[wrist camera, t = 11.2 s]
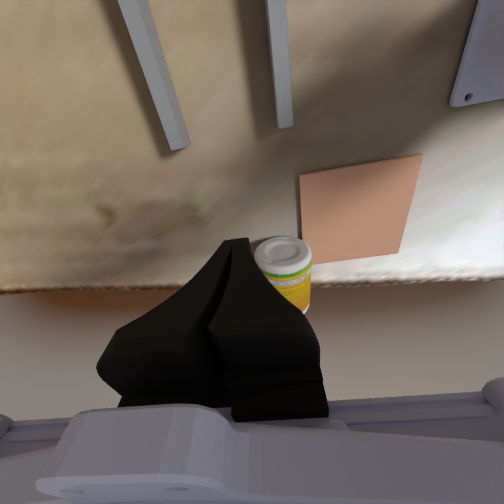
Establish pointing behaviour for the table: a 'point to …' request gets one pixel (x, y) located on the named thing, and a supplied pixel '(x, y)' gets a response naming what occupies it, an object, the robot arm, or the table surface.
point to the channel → (159, 77)
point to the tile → (357, 208)
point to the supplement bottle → (287, 268)
